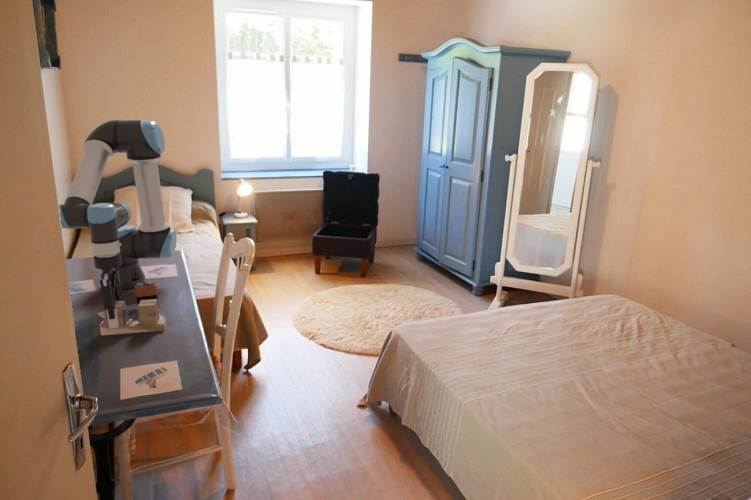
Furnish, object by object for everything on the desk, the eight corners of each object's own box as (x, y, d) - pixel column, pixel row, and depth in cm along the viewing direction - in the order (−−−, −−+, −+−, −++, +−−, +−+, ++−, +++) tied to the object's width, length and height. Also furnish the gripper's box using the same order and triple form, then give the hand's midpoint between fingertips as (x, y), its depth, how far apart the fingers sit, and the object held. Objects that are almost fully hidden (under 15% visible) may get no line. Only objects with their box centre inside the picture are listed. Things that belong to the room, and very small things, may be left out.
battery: (158, 309, 185) (155, 283, 182) (137, 312, 183) (134, 285, 180) (158, 305, 189) (156, 279, 186) (138, 307, 186) (135, 281, 184)
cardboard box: (110, 322, 168) (107, 302, 166) (129, 320, 169) (127, 300, 167) (106, 328, 163) (103, 308, 161) (126, 326, 164) (123, 306, 162)
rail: (104, 330, 168) (100, 303, 165) (166, 325, 172) (163, 298, 170) (100, 336, 163) (96, 309, 161) (164, 331, 168) (161, 304, 165)
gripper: (113, 262, 152) (122, 334, 158) (126, 245, 169) (134, 312, 175) (85, 263, 150) (95, 336, 157) (101, 246, 167) (110, 313, 173)
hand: (116, 323), depth 166 cm, fingers closed on cardboard box, 5 cm apart
